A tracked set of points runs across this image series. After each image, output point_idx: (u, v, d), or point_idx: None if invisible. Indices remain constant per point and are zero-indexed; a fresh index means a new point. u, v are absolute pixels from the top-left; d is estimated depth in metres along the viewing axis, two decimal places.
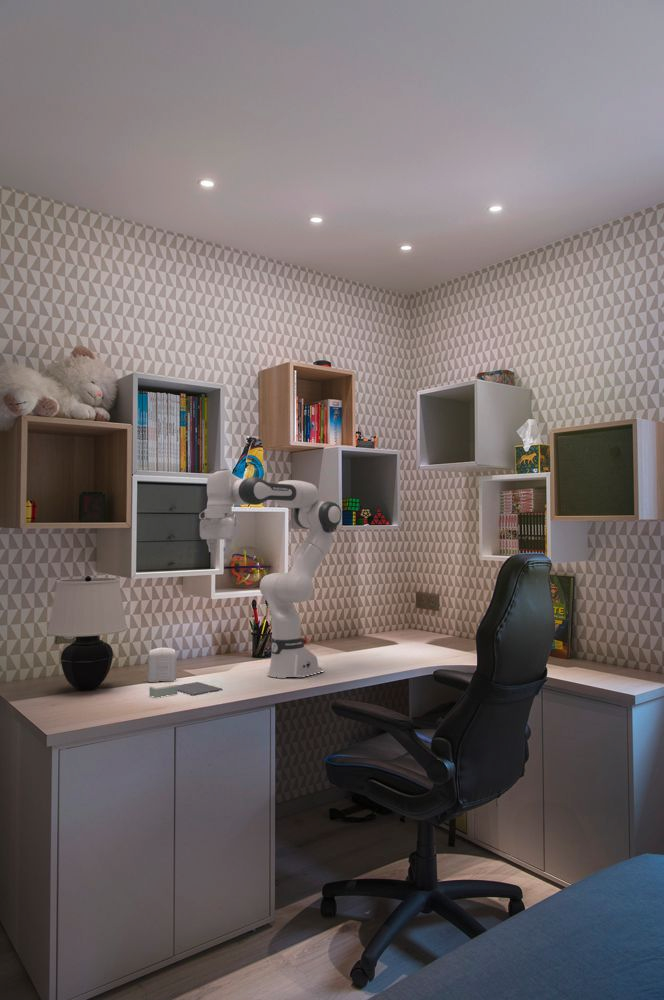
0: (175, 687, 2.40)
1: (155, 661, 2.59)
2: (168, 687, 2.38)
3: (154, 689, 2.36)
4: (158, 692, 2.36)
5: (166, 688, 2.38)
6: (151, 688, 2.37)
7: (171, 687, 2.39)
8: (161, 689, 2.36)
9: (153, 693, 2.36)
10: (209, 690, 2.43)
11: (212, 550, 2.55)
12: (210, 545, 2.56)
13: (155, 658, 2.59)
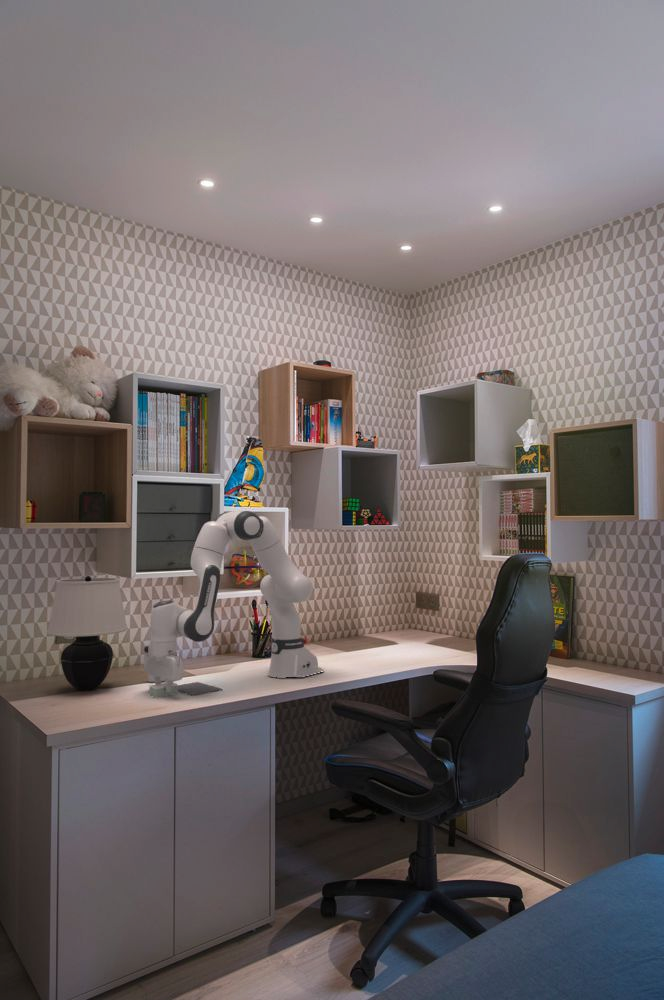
0: (175, 686, 2.40)
1: None
2: None
3: (154, 688, 2.36)
4: (158, 691, 2.36)
5: None
6: (151, 687, 2.37)
7: (171, 686, 2.39)
8: (161, 688, 2.36)
9: (153, 692, 2.36)
10: (209, 690, 2.43)
11: None
12: (157, 681, 2.42)
13: None
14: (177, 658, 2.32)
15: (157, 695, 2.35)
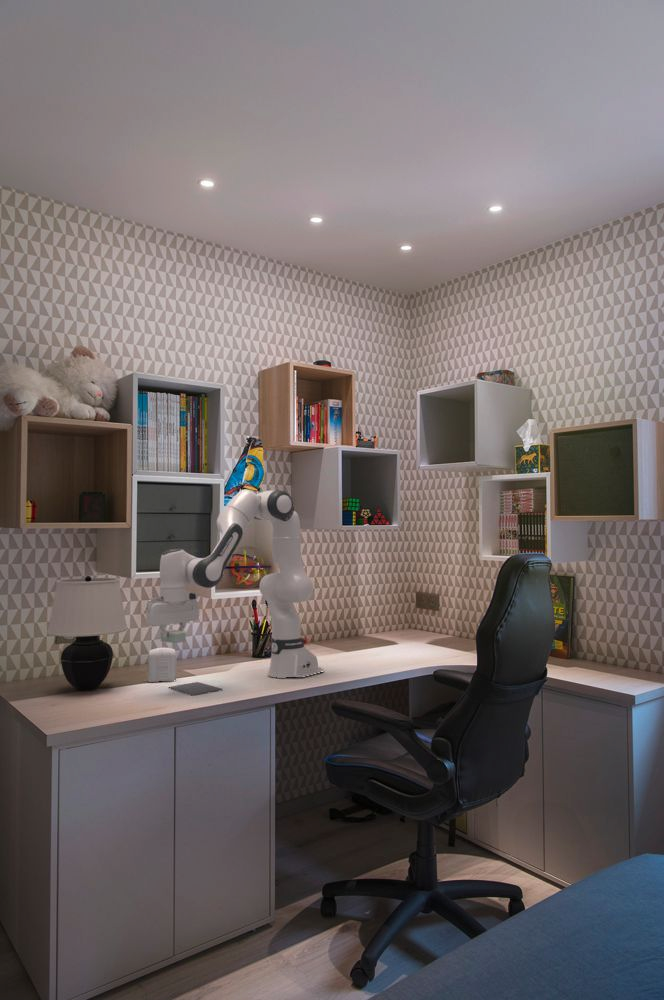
0: (173, 635, 2.39)
1: (155, 661, 2.59)
2: None
3: None
4: (162, 635, 2.43)
5: None
6: None
7: (170, 634, 2.40)
8: None
9: None
10: (209, 690, 2.43)
11: None
12: (180, 628, 2.45)
13: (155, 658, 2.59)
14: None
15: (161, 638, 2.43)
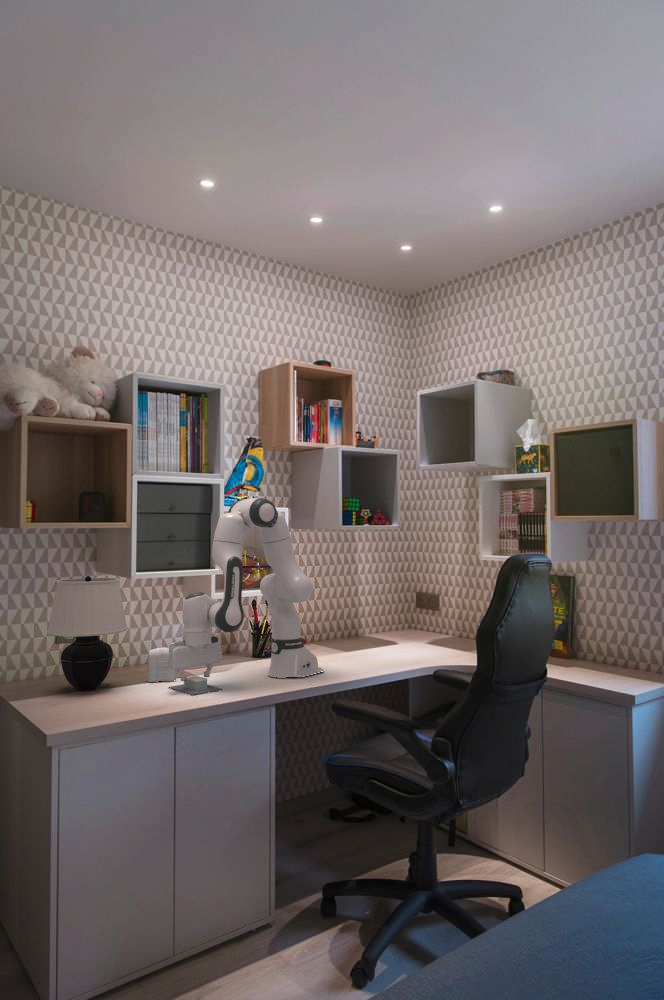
0: (194, 682, 2.44)
1: (155, 661, 2.59)
2: (190, 680, 2.46)
3: None
4: (185, 681, 2.48)
5: (189, 680, 2.46)
6: None
7: (192, 681, 2.45)
8: None
9: None
10: (209, 690, 2.43)
11: (204, 675, 2.51)
12: (207, 669, 2.52)
13: (155, 658, 2.59)
14: None
15: (184, 684, 2.49)
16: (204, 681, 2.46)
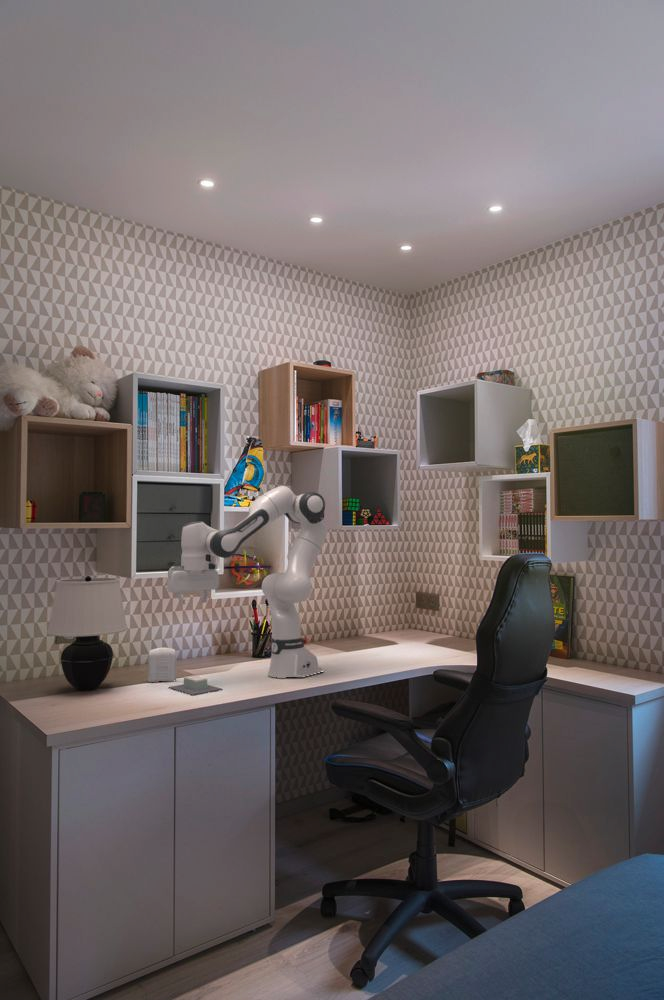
0: (194, 682, 2.44)
1: (155, 661, 2.59)
2: (190, 680, 2.46)
3: None
4: (185, 681, 2.48)
5: (189, 680, 2.46)
6: None
7: (192, 681, 2.45)
8: (186, 679, 2.48)
9: None
10: (209, 690, 2.43)
11: (202, 600, 2.61)
12: (204, 595, 2.62)
13: (155, 658, 2.59)
14: None
15: (184, 684, 2.49)
16: (204, 681, 2.46)
